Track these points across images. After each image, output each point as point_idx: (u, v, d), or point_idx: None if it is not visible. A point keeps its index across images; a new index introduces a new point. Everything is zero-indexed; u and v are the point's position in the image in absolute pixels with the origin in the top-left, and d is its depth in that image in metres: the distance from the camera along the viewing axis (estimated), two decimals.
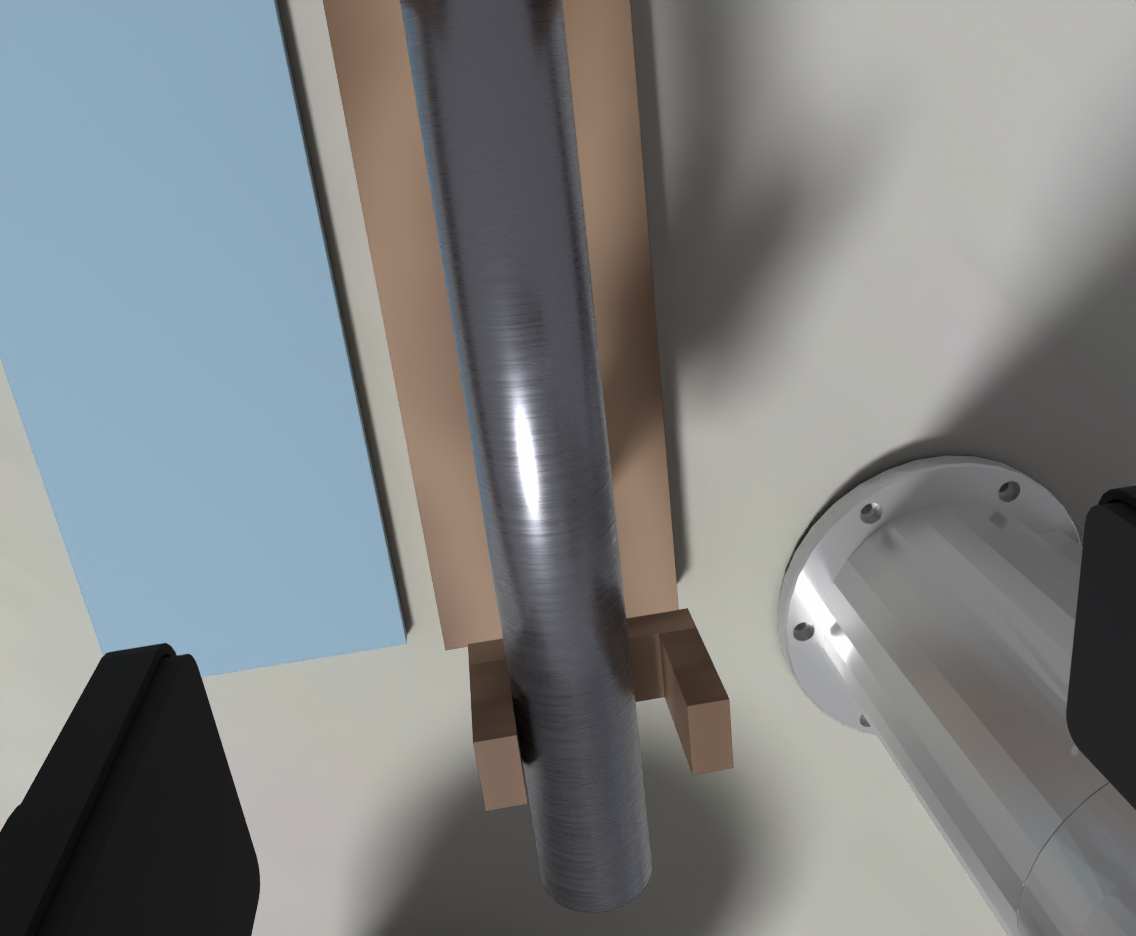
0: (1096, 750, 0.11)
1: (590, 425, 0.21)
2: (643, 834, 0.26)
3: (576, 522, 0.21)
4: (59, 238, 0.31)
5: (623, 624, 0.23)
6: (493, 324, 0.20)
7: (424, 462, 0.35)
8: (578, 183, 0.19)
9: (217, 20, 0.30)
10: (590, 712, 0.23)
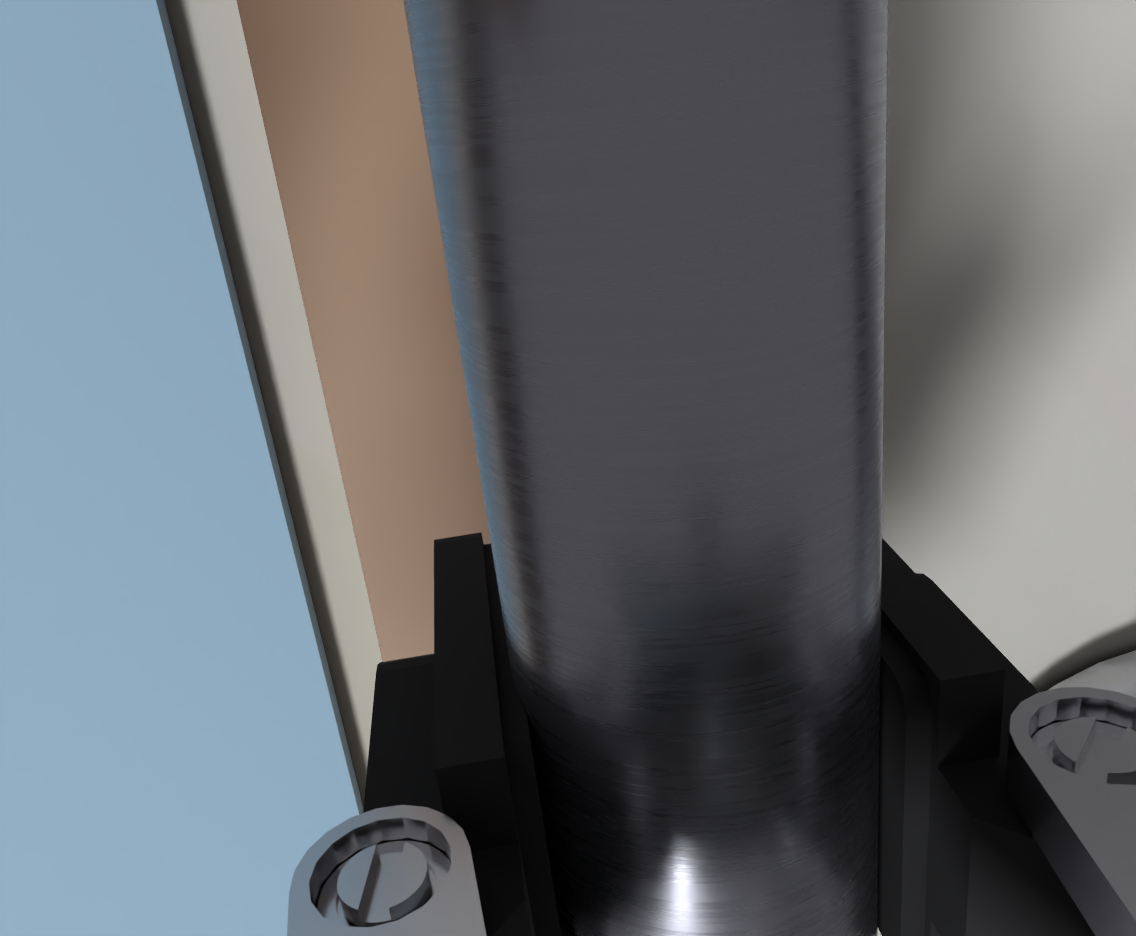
0: None
1: (876, 910, 0.09)
2: None
3: None
4: None
5: None
6: (710, 776, 0.07)
7: None
8: None
9: None
10: None
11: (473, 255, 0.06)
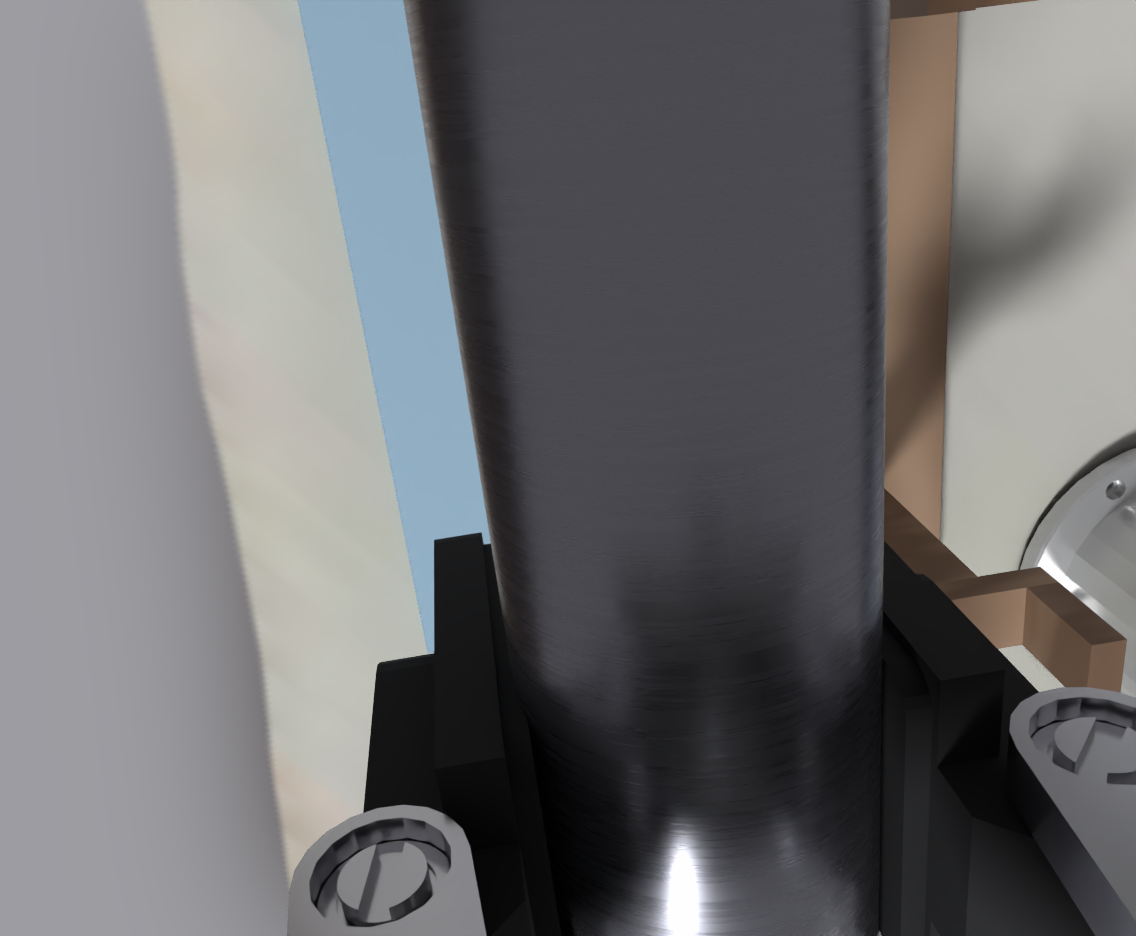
0: None
1: (878, 910, 0.09)
2: None
3: None
4: (432, 239, 0.35)
5: None
6: (711, 775, 0.07)
7: None
8: None
9: None
10: None
11: (472, 250, 0.06)
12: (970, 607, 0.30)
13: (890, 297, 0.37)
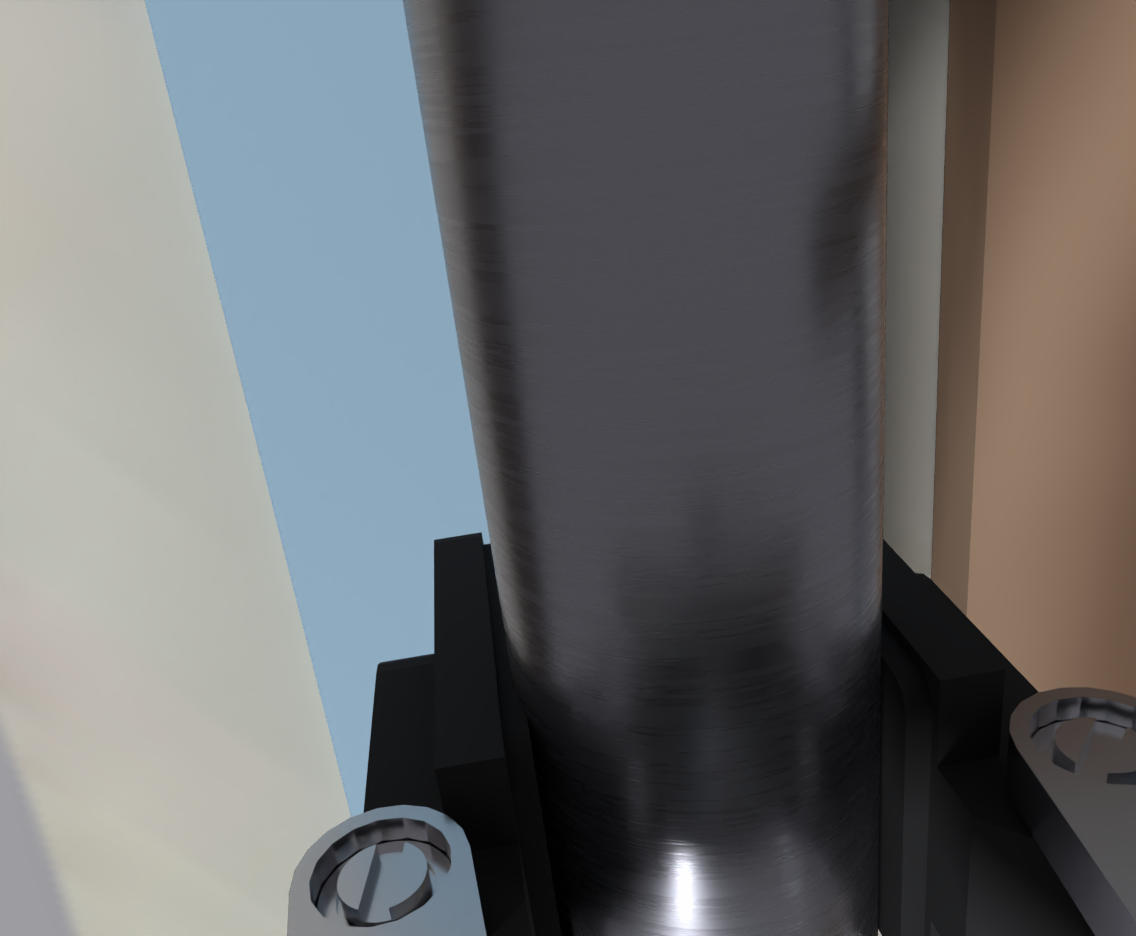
0: None
1: (876, 907, 0.09)
2: None
3: None
4: (427, 419, 0.17)
5: None
6: (708, 772, 0.07)
7: None
8: None
9: None
10: None
11: (471, 246, 0.06)
12: None
13: None
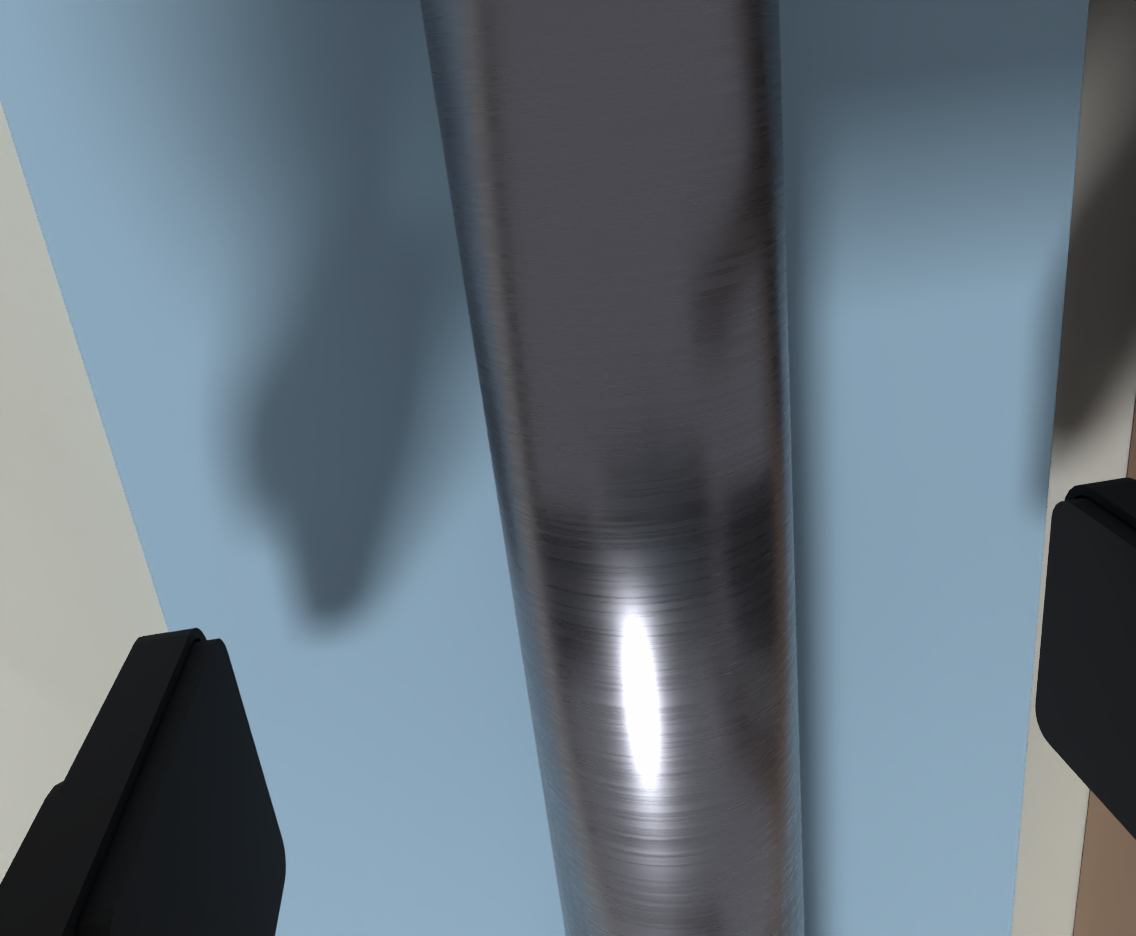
0: (1064, 742, 0.11)
1: (797, 735, 0.11)
2: None
3: (782, 915, 0.11)
4: (412, 573, 0.12)
5: None
6: (660, 601, 0.09)
7: None
8: None
9: None
10: None
11: (477, 200, 0.08)
12: None
13: None
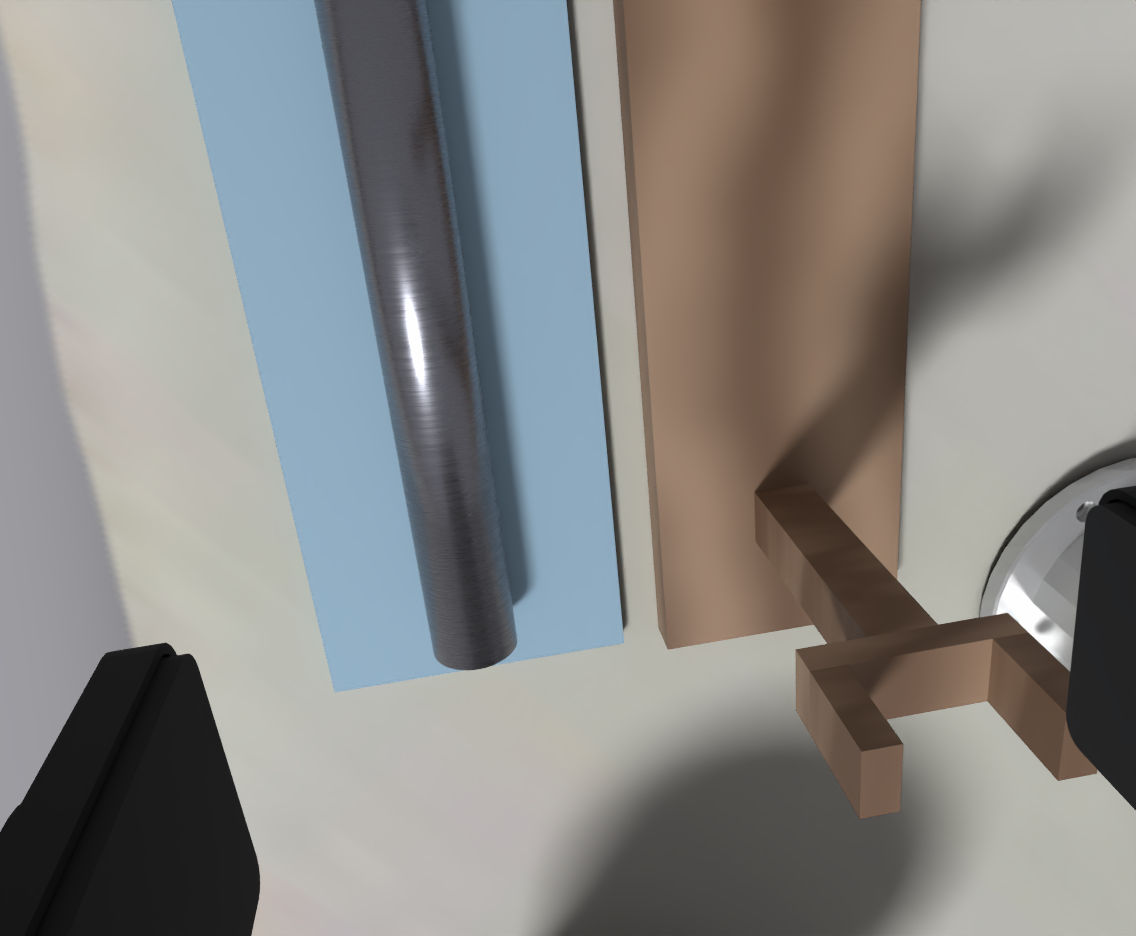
0: (1096, 750, 0.11)
1: (460, 285, 0.30)
2: (510, 606, 0.34)
3: (455, 357, 0.30)
4: (327, 234, 0.31)
5: (488, 440, 0.32)
6: (391, 211, 0.28)
7: (669, 462, 0.34)
8: (442, 112, 0.28)
9: (507, 12, 0.29)
10: (471, 504, 0.32)
11: (331, 75, 0.27)
12: (929, 661, 0.26)
13: (844, 303, 0.33)
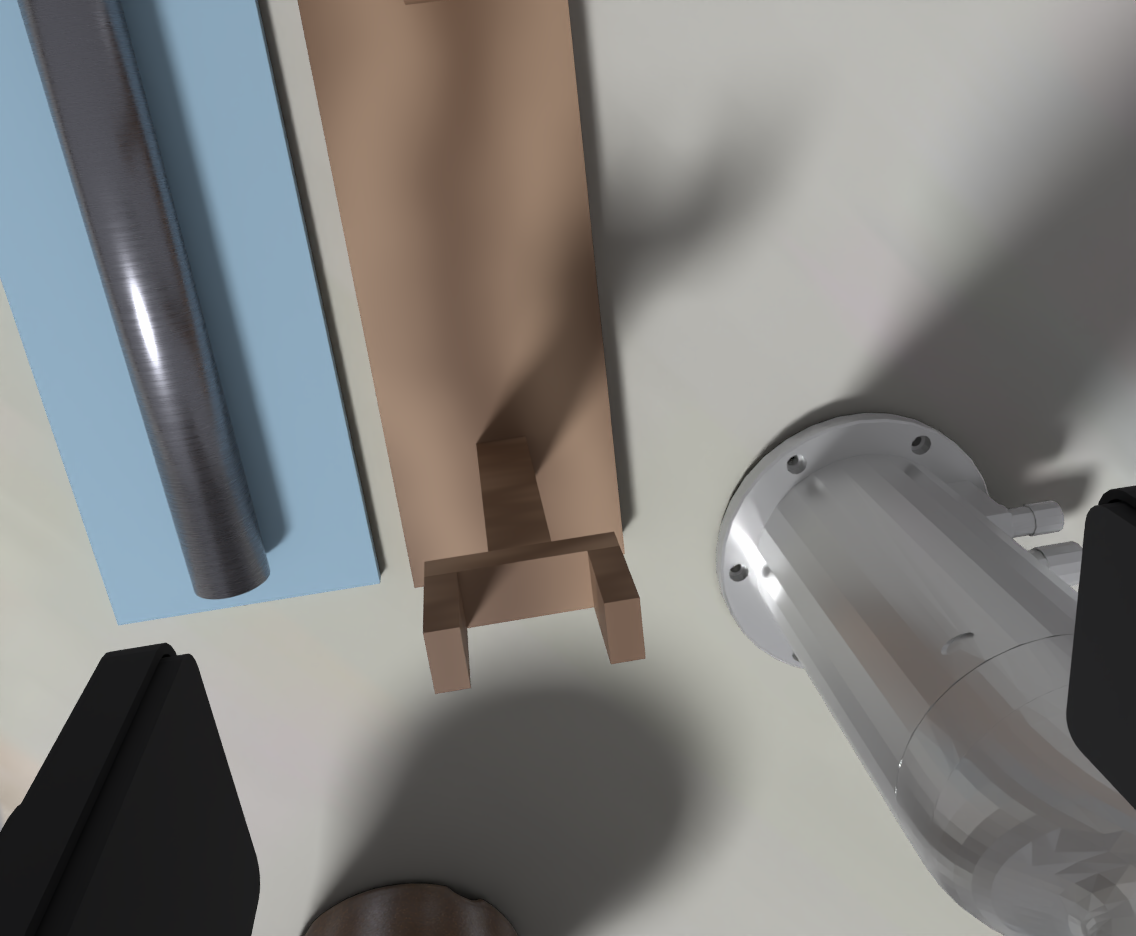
0: (1096, 750, 0.11)
1: (174, 257, 0.34)
2: (257, 543, 0.39)
3: (173, 319, 0.35)
4: (68, 215, 0.36)
5: (220, 394, 0.37)
6: (100, 192, 0.33)
7: (393, 416, 0.39)
8: (145, 107, 0.33)
9: (206, 23, 0.34)
10: (203, 449, 0.36)
11: (40, 77, 0.32)
12: (532, 570, 0.30)
13: (536, 273, 0.37)
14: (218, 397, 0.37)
